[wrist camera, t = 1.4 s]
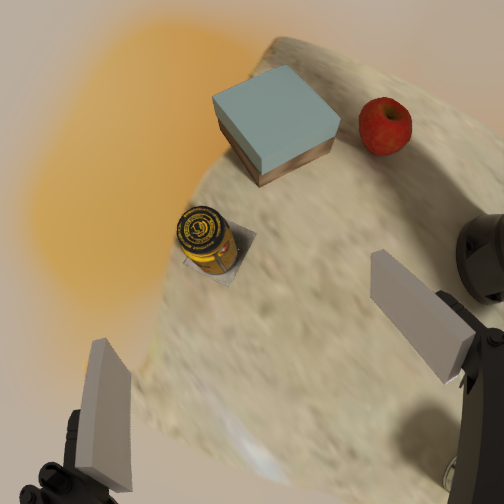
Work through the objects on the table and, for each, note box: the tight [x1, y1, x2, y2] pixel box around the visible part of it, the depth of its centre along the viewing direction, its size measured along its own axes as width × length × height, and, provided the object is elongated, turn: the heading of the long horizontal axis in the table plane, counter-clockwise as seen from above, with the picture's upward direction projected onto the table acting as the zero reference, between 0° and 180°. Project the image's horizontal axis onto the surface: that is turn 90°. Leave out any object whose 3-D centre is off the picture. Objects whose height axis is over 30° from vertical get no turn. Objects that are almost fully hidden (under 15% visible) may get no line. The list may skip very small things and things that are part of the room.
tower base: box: [218, 118, 335, 188], centre depth 46 cm, size 13×13×4 cm
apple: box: [359, 97, 412, 155], centre depth 42 cm, size 9×8×11 cm
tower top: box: [212, 64, 341, 175], centre depth 42 cm, size 13×13×4 cm
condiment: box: [177, 206, 257, 287], centre depth 38 cm, size 7×8×12 cm
